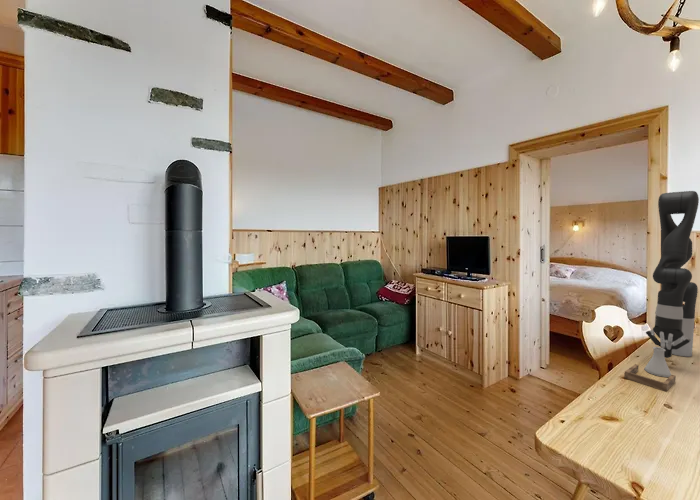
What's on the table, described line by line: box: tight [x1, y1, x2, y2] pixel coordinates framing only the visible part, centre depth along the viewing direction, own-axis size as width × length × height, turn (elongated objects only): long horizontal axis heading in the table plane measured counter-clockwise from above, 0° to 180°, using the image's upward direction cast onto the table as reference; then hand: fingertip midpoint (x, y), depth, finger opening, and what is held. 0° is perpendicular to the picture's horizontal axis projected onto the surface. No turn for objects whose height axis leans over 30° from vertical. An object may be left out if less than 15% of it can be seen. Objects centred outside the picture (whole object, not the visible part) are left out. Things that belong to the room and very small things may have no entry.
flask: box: [643, 346, 672, 378], centre depth 114 cm, size 7×7×10 cm
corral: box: [623, 363, 676, 392], centre depth 108 cm, size 12×11×2 cm
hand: (665, 357), depth 120 cm, fingers closed
